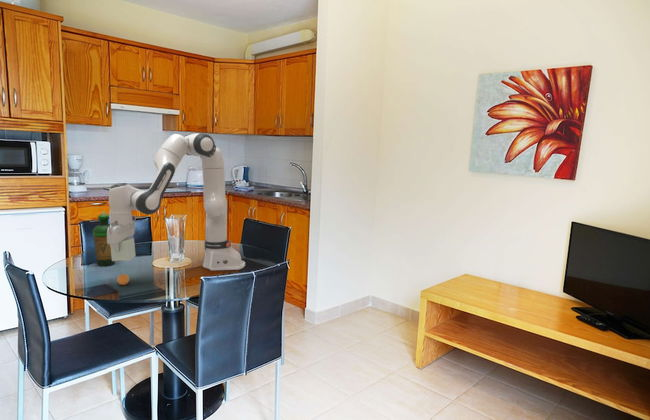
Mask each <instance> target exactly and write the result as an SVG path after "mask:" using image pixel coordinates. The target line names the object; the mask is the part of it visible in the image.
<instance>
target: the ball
mask: <svg viewBox="0 0 650 420" xmlns="http://www.w3.org/2000/svg"><path fill="white" fill-rule="evenodd" d="M116 282H117V283H118V285H120V286H125V285H128V283H129V282H130V277H129V275H127V274H126V273H123V274H119V275H118V277H117V278H116Z"/></svg>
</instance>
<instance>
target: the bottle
mask: <svg viewBox="0 0 650 420" xmlns="http://www.w3.org/2000/svg"><path fill="white" fill-rule="evenodd" d="M109 219H110V218H109V214H108V212H106V211H101V212H99V214H98V215H97V221H98V223H99V224H98V225H96V226H94V228H93V230H92V235H93V243H94V250H95V251H94V252H95V260H96V265H97V266H100V267H108V266H113V265H114V264H115V263H116V261H112V257H111V247H110V244H108V243H107V229H108V227H109V226H110V224H108V220H109Z"/></svg>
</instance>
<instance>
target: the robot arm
mask: <svg viewBox="0 0 650 420" xmlns="http://www.w3.org/2000/svg"><path fill="white" fill-rule="evenodd" d="M185 156H193V157H195V156H196V157H199V158H200V160H201V166H202V167H201V168H202V182H203V208H204V211H205V224H204V225H205V231H204V232H205V239H204V251H205V252H204V259H203V260H204V261H203V264H202V267H203V268H205V269H209V271H233V270H242V269H243V268H245V266H246V262H245V260H242V256H241V253H240V252H238V250H235V249H234V247H232V246H231V244H232V243H231V240H229V239H227V238H228V237H227V236H228V235H227V233H228V231H227V230H228V228H227V226H228V222H227V221H228V200H227V198H226V176H225V175H226V174H225V165H224V158H223V153H222V150H221V149H220V148H219V147H217V146H216V144H215V140H214V139H213V137H212V136H211V135H209V134H207V133H197V132H196V133H191V134H186V135H182V134H178V133H173V134H171V135H170V136H169V137H168V138H167V139H166V140H165V141H164V142H163V143H162V144H161V146H160V147H159V149H158V150H157V152H156V153H155V155H154V158H153V163H154V166H155V168H156V169H157V174H156V176H155V179H154V180H153V182H152V184H151V185H150V187H149V188H148V189H147V190H142V189H139V188H137V187H134V186H132V185H129V184H128V183H127V182H121V183H115V184H113V185H111V186H110V187H109V190H108V206H109V214H108V215H109V217H110V226H109V227H108V229H107V243H108V244H113V247H114V249H115V252H119V251H120V248H119V242H121V241H123V240H125V239H127V238H130V237H131V236H133V237H134V235H135V232H136V222H135V221H136V219H137V217H136V216H135V214H132V211H137V212H140V213H142V214H143V215H148V216H149V215H154V214H155V213H157V212H158V211H159V210H160V208H161V204H162V200H163V196H164V194H165V192H166V191H167V188H168V187H169V185H170V183H171V181H172V179H173V177H174V176H175V173H176V170H177V168H178V166H179V164H180V163H181V161H182V160H183V158H184V157H185Z"/></svg>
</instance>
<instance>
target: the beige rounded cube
mask: <svg viewBox="0 0 650 420" xmlns="http://www.w3.org/2000/svg"><path fill="white" fill-rule="evenodd" d="M110 247H111V257H112V261H115V262H125V261H127V262H129V261H131V260H132V259H134V258H135V257H136V246H135V238H134V237H133V238H127V239H125V240H123V241H121V242H119V248H120V251H119V252H115V249H114V247H113V244H110Z"/></svg>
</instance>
